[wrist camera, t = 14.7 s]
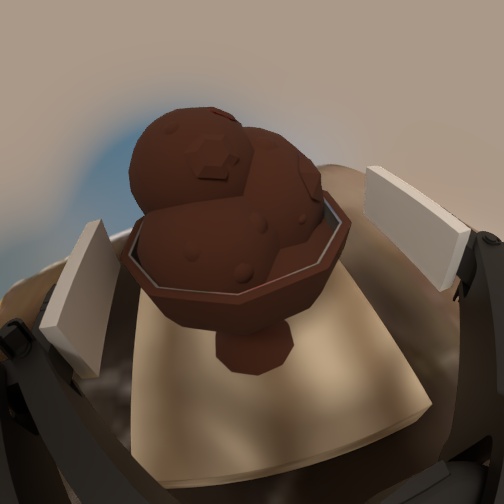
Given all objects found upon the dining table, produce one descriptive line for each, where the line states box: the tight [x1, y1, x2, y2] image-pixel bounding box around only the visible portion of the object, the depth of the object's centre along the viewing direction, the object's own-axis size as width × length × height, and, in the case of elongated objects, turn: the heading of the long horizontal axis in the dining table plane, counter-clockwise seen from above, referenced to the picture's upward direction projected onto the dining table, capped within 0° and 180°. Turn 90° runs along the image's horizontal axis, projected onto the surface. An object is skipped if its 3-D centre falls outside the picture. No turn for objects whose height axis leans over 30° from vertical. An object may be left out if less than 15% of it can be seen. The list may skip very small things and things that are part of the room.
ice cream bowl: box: [120, 107, 352, 376], centre depth 15 cm, size 11×11×15 cm
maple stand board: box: [131, 259, 432, 489], centre depth 20 cm, size 18×18×3 cm
